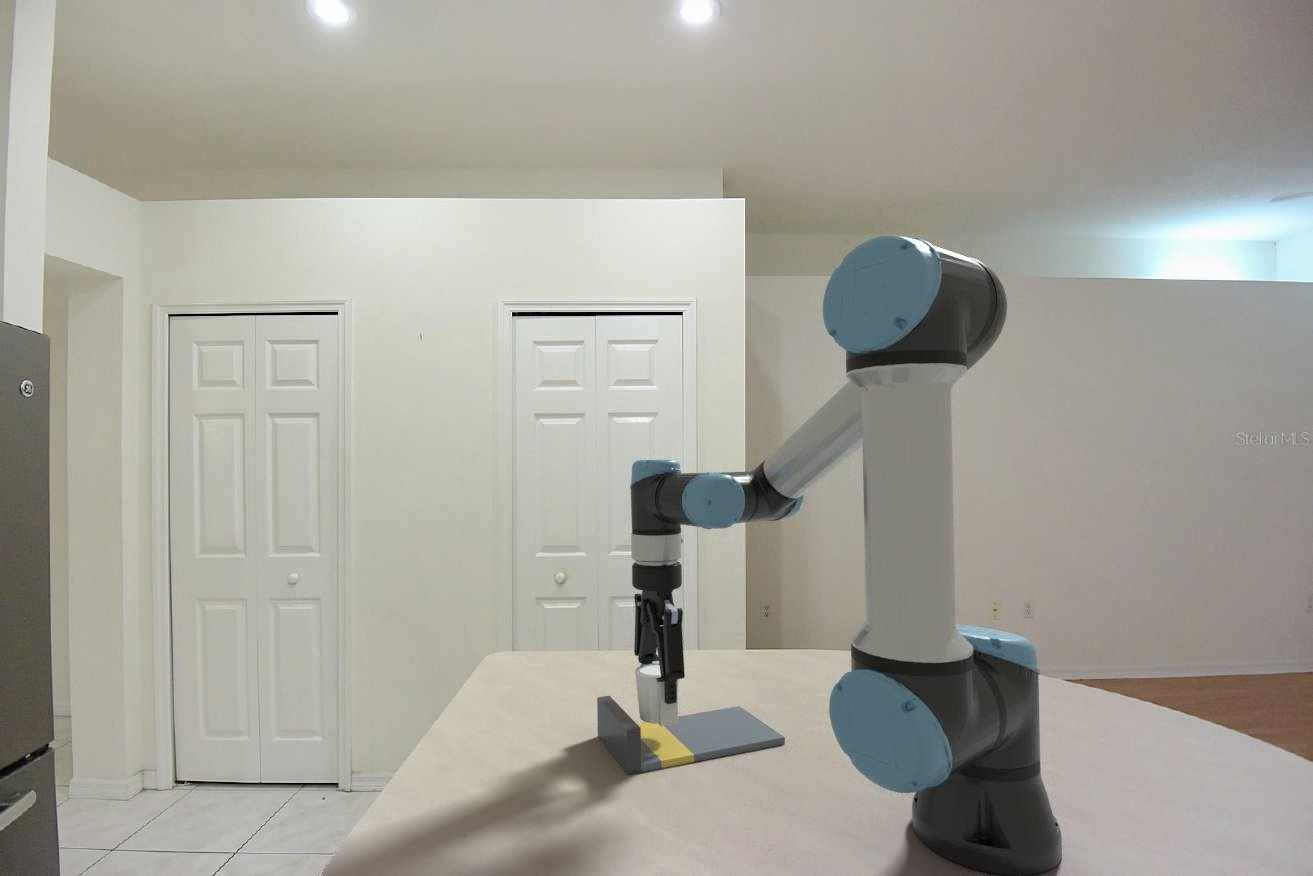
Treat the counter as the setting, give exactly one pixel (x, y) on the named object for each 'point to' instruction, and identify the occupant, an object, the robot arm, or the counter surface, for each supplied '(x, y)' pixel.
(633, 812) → the counter surface
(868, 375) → the robot arm
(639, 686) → the shot glass
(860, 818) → the counter surface
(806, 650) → the counter surface
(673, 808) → the counter surface
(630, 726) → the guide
